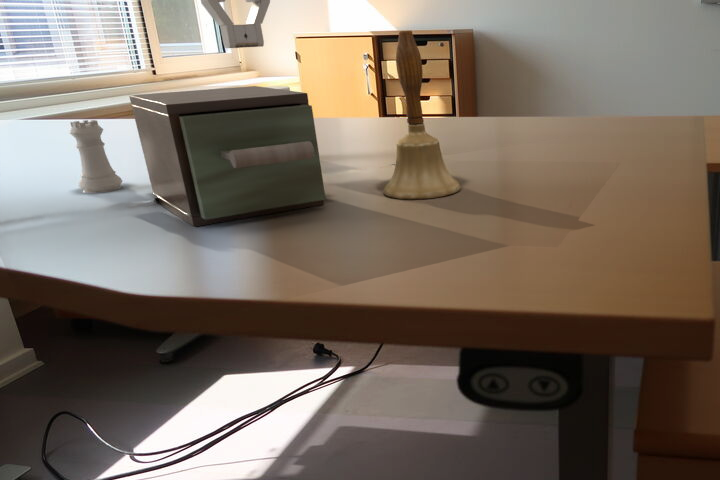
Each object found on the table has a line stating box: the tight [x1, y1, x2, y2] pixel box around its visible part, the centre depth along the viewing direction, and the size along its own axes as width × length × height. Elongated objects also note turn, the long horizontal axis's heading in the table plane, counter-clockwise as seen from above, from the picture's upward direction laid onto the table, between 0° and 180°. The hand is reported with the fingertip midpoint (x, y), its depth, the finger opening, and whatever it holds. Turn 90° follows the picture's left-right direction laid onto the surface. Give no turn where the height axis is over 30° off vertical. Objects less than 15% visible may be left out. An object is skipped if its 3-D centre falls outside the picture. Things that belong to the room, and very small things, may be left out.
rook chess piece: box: [68, 119, 123, 194], centre depth 81 cm, size 4×4×8 cm
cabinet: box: [128, 85, 325, 228], centre depth 75 cm, size 15×13×11 cm
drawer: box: [179, 104, 327, 220], centre depth 71 cm, size 18×12×9 cm, turn 38°
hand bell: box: [383, 30, 461, 200], centre depth 77 cm, size 8×8×16 cm
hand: (244, 47), depth 63 cm, fingers closed
